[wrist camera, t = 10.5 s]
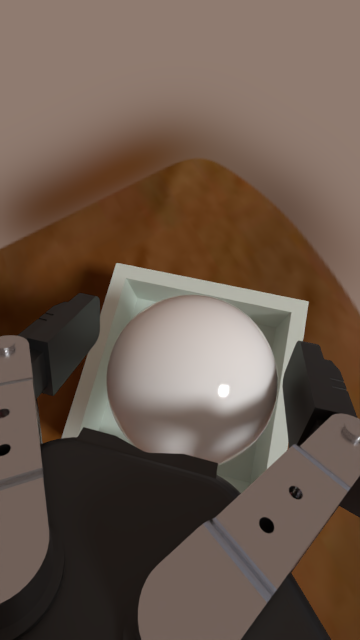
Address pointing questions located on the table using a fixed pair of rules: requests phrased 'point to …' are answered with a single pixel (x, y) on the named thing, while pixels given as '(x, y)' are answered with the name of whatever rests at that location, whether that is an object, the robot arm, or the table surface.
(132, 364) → the lightbulb
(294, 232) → the table surface
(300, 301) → the tray
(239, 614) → the robot arm
